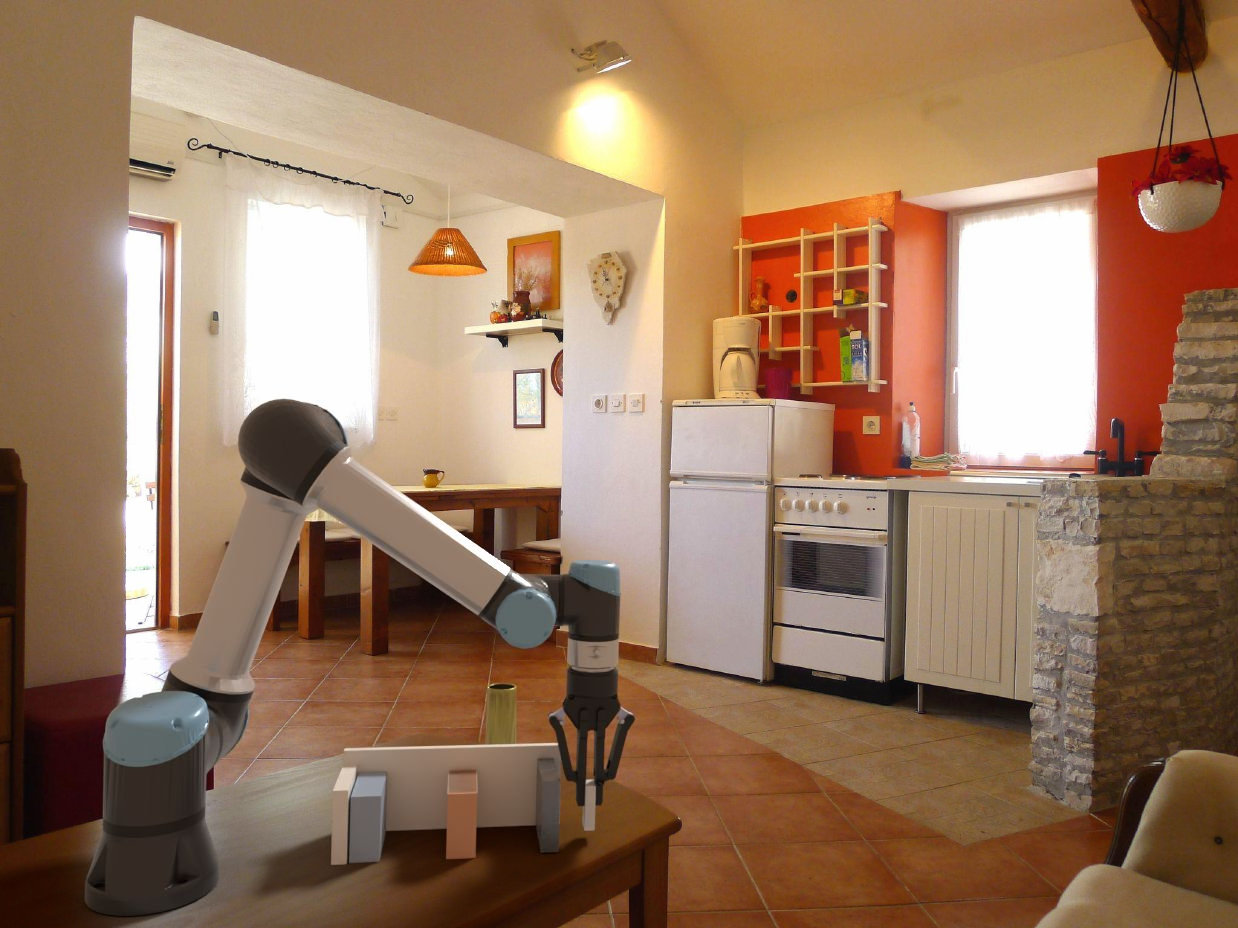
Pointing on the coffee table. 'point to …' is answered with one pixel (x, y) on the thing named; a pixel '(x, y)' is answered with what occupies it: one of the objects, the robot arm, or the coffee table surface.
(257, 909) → the coffee table surface
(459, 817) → the rust book
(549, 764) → the bookend
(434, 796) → the white upright backboard
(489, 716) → the vase
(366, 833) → the blue book
